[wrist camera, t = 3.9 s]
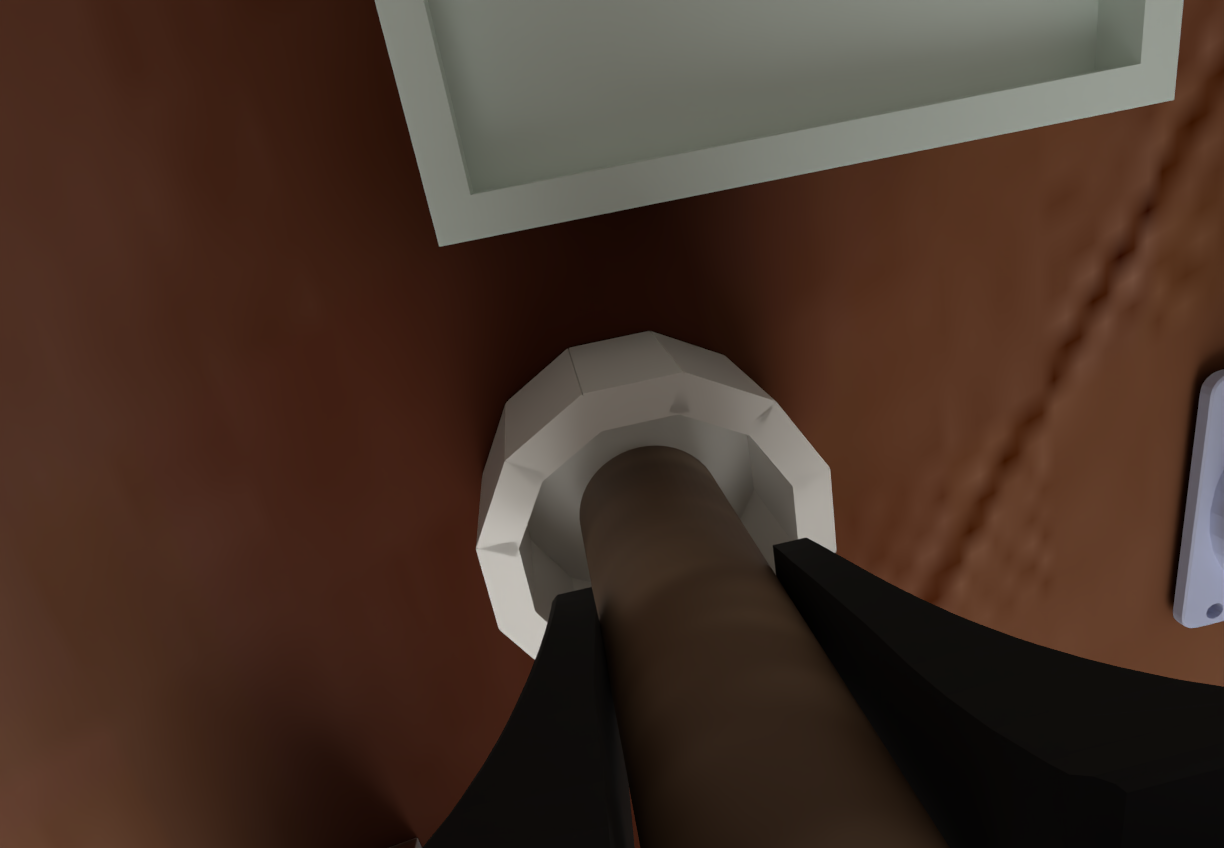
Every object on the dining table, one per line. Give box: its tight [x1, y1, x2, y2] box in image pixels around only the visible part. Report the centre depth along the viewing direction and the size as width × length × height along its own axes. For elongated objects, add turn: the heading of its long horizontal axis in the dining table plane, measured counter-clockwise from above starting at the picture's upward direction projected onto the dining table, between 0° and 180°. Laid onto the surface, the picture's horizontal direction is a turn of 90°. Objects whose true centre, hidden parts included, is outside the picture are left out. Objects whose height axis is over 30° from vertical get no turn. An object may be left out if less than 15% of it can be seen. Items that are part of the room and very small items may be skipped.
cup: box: [476, 331, 836, 659], centre depth 16 cm, size 7×7×4 cm
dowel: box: [579, 445, 950, 848], centre depth 11 cm, size 3×3×10 cm
